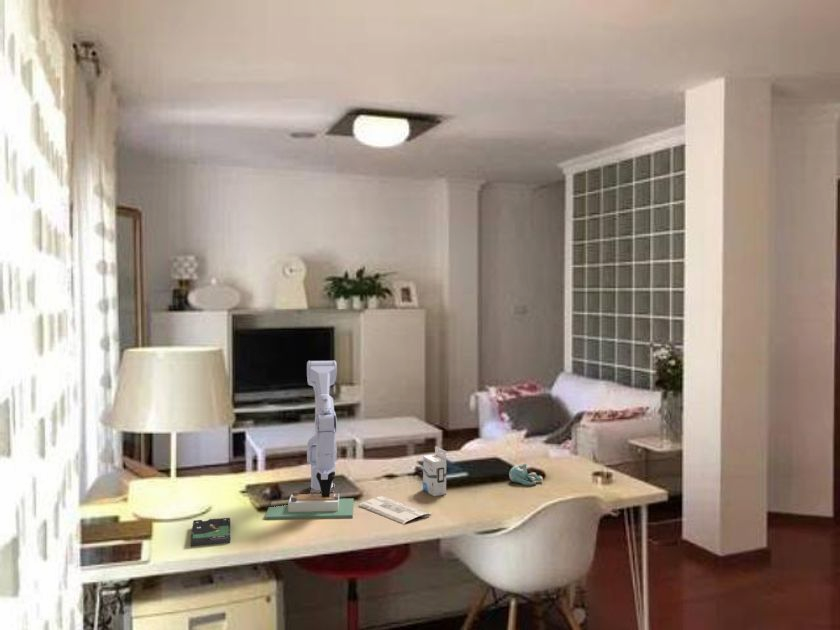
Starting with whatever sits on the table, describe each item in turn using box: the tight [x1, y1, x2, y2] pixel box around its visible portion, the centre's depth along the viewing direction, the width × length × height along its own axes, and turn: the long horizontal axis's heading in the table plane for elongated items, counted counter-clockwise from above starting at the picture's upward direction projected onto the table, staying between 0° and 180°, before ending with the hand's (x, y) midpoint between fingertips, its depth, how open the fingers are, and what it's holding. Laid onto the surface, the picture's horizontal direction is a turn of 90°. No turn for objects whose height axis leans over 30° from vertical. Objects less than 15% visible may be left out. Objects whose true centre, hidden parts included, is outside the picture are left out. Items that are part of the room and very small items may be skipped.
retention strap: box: [295, 493, 335, 500], centre depth 212 cm, size 4×12×1 cm, turn 94°
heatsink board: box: [264, 491, 355, 520], centre depth 212 cm, size 16×26×5 cm, turn 94°
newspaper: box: [358, 495, 432, 525], centre depth 213 cm, size 23×12×2 cm, turn 42°
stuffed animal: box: [508, 463, 544, 486], centre depth 244 cm, size 11×7×12 cm
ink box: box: [422, 445, 447, 497], centre depth 231 cm, size 8×5×15 cm, turn 26°
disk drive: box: [190, 517, 231, 548], centre depth 191 cm, size 10×3×15 cm
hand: (325, 496), depth 213 cm, fingers closed, pressing on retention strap
